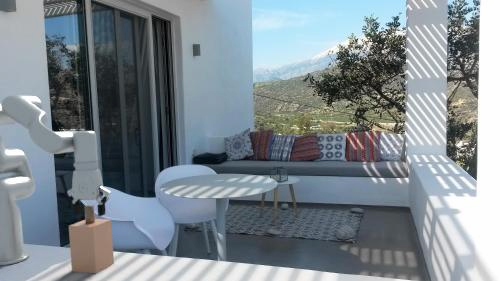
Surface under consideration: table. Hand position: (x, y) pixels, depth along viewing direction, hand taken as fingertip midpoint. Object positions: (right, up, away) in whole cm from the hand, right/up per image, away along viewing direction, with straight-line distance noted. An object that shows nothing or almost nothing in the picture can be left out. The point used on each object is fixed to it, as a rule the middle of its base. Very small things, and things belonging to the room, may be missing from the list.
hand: (90, 214), depth 154 cm
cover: (+1, -19, +1) cm, 19 cm away
